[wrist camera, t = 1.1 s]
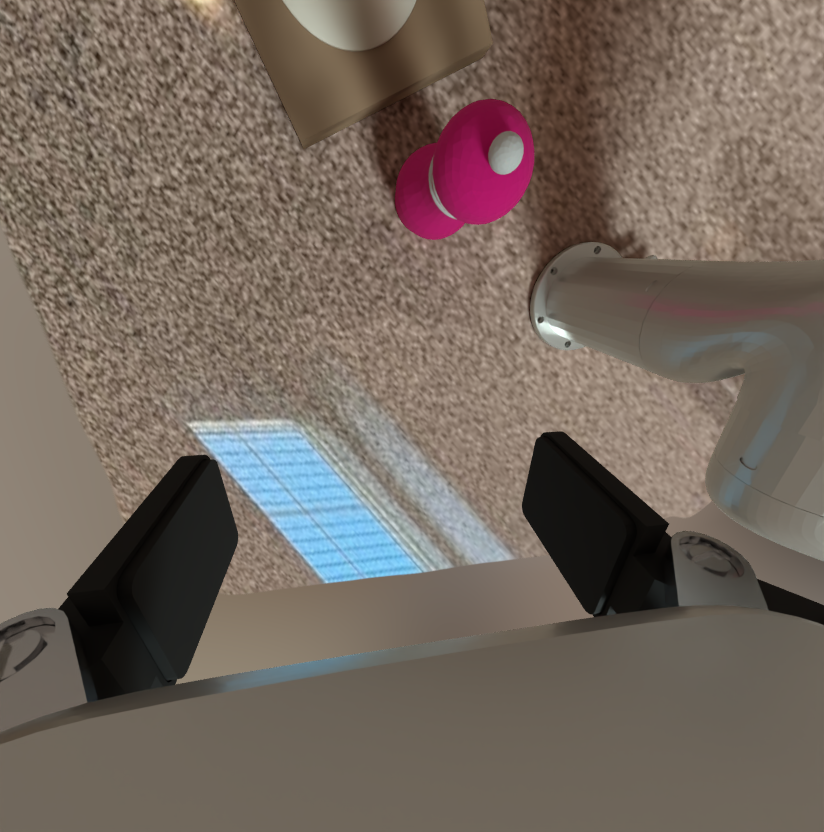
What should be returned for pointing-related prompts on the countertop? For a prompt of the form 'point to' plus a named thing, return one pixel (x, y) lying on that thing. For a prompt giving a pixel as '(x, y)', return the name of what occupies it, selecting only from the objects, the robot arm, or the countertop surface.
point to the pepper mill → (467, 171)
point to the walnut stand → (359, 53)
